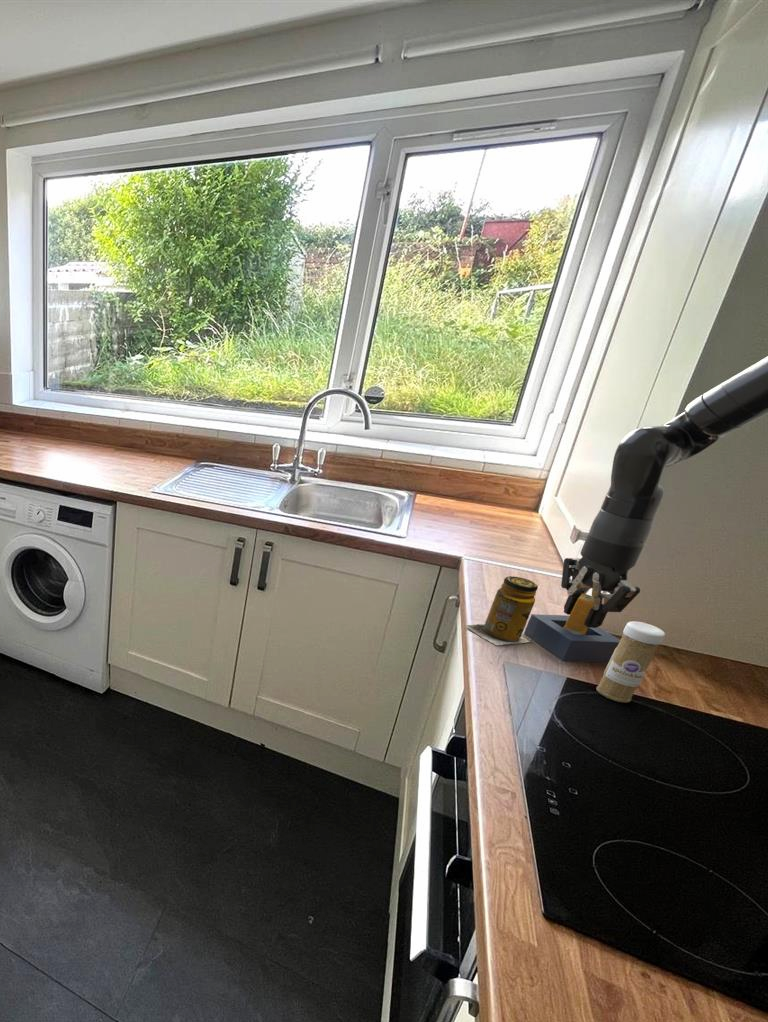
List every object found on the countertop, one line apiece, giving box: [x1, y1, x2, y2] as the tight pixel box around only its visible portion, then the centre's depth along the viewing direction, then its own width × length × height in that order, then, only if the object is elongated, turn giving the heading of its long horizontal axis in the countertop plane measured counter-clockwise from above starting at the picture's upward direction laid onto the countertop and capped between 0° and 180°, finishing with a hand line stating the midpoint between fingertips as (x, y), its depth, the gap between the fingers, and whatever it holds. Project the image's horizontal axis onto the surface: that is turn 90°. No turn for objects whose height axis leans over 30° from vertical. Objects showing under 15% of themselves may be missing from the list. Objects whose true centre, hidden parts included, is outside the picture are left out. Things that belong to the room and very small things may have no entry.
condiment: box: [464, 575, 539, 646], centre depth 115 cm, size 7×8×12 cm
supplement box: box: [564, 593, 594, 635], centre depth 111 cm, size 3×3×10 cm
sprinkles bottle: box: [596, 620, 666, 704], centre depth 96 cm, size 5×5×13 cm
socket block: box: [523, 613, 621, 664], centre depth 112 cm, size 10×10×4 cm
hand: (580, 619), depth 111 cm, fingers closed on supplement box, 4 cm apart
